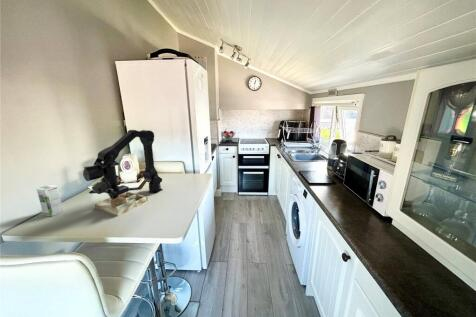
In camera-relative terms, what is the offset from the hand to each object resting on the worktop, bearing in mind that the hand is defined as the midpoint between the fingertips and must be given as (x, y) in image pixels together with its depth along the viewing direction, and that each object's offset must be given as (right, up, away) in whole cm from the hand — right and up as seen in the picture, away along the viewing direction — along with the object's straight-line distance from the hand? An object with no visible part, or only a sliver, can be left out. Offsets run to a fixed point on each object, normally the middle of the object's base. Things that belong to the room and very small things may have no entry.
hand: (114, 202), depth 102 cm
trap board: (+1, -2, +5) cm, 6 cm away
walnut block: (+4, -2, -2) cm, 4 cm away
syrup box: (-29, -5, -4) cm, 30 cm away
